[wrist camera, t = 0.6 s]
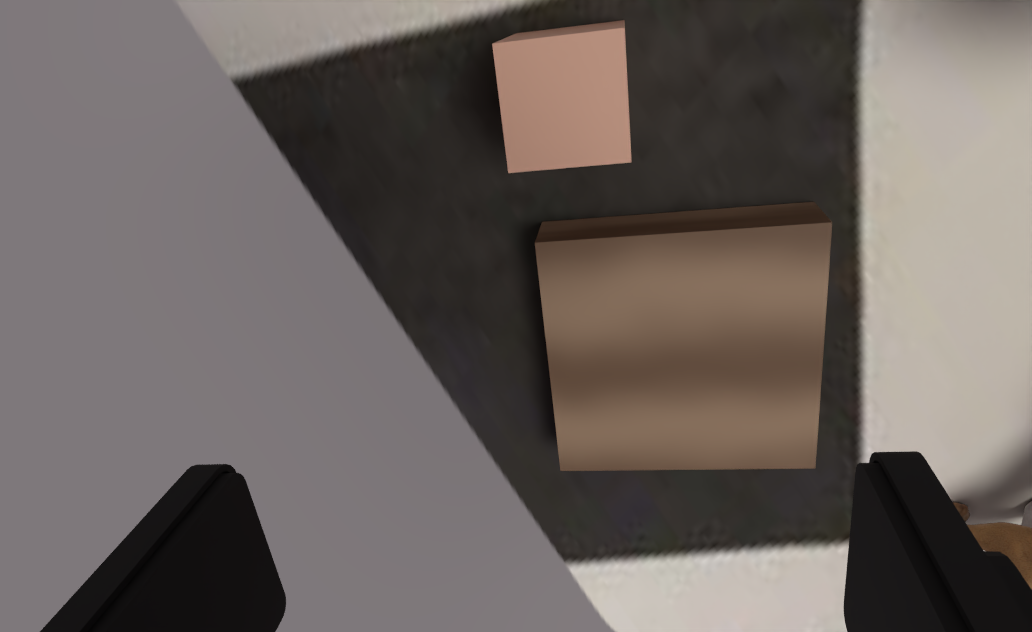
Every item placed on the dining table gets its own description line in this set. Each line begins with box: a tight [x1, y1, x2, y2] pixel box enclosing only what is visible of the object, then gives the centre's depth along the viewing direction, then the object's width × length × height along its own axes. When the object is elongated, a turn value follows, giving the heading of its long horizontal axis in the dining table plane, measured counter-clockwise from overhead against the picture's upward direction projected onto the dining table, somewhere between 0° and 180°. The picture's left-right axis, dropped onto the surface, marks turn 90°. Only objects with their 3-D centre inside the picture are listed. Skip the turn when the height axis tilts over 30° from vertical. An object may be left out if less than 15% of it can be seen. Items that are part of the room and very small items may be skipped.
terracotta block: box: [492, 20, 631, 173], centre depth 27 cm, size 4×4×6 cm
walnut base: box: [535, 202, 832, 471], centre depth 33 cm, size 12×12×3 cm
